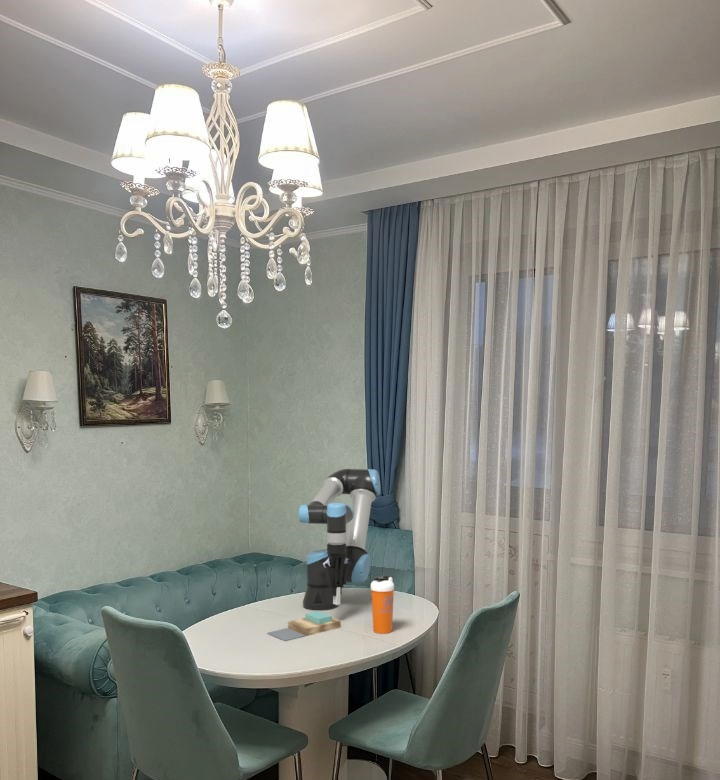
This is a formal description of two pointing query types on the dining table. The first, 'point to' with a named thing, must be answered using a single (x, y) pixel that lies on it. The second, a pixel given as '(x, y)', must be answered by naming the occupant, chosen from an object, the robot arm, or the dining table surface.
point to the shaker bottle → (382, 604)
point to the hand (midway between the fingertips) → (336, 603)
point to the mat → (286, 634)
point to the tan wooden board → (312, 626)
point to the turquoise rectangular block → (318, 617)
